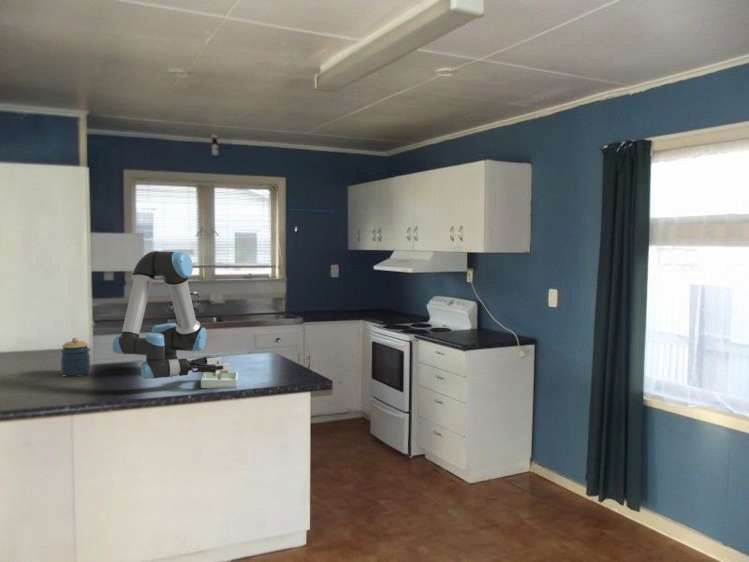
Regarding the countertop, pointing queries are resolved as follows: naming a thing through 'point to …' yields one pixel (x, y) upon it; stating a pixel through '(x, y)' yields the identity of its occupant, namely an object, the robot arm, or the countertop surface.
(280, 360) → the countertop surface
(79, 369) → the canister
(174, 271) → the robot arm
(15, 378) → the countertop surface
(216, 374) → the pipe connector
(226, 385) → the tray
